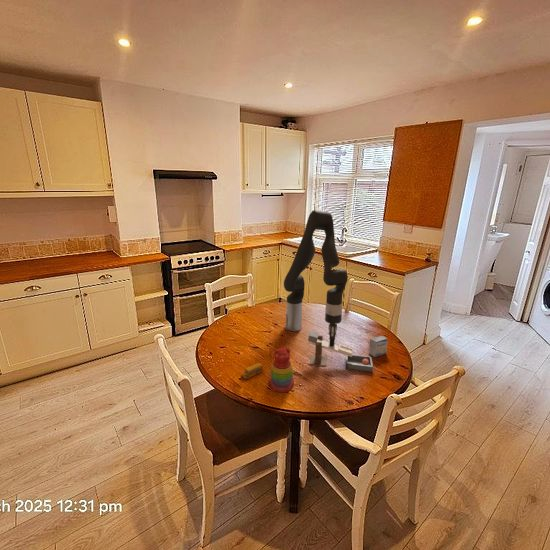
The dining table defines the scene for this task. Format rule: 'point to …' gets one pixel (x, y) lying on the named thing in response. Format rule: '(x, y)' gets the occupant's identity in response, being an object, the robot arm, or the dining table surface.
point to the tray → (358, 363)
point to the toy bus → (252, 370)
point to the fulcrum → (318, 355)
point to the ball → (365, 362)
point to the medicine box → (378, 346)
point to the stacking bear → (281, 371)
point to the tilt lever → (337, 348)
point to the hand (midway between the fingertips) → (331, 345)
